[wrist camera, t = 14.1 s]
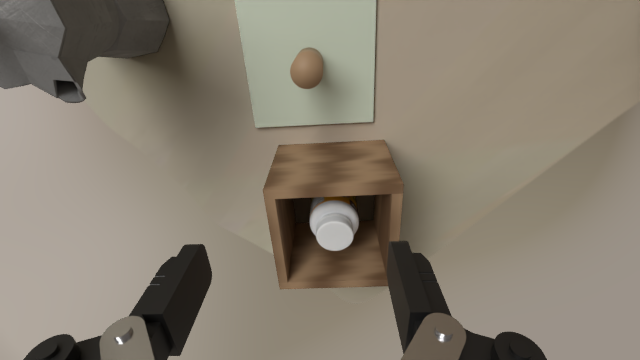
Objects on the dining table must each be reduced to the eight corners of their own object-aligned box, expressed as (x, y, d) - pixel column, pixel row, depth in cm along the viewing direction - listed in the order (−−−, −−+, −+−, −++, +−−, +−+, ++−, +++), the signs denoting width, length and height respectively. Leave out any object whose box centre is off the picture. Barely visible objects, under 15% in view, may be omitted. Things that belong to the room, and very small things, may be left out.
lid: (375, -19, 31) (387, -25, 25) (372, 119, 38) (381, 140, 31) (235, -9, 31) (213, -13, 25) (257, 125, 38) (243, 147, 32)
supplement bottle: (362, 187, 41) (372, 236, 32) (333, 212, 43) (335, 265, 34) (332, 161, 40) (334, 205, 31) (303, 188, 42) (297, 237, 33)
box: (384, 140, 38) (403, 184, 28) (380, 225, 44) (395, 285, 35) (278, 145, 39) (262, 190, 29) (289, 229, 45) (279, 289, 35)
